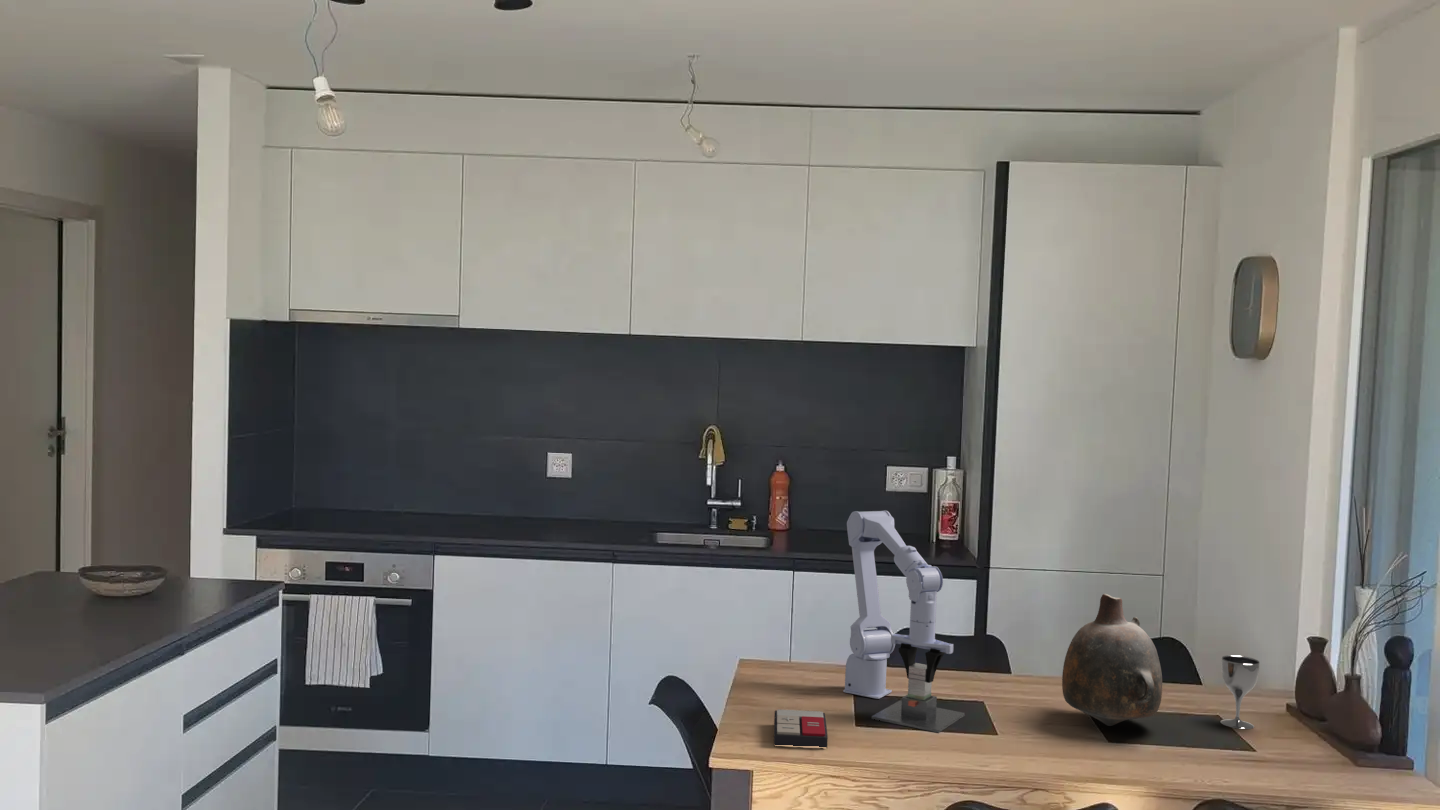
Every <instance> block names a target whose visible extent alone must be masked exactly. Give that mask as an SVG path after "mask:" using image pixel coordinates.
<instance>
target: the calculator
mask: <svg viewBox="0 0 1440 810" xmlns="http://www.w3.org/2000/svg"><path fill="white" fill-rule="evenodd" d="M773 720H774V721H773V730H774V731H773V732H774V733H773V738H774V739H773V741H774V742H773V745H774V744H775V745H793V746H819V747H827V748H828V741H829V739H828V738H829V737H828V729H827V720H826V714H825V712H823V711H819V710H818V711H817V710H800V709H799V710H796V709H776V710H775V711H774V718H773Z"/></svg>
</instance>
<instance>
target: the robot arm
mask: <svg viewBox="0 0 1440 810" xmlns="http://www.w3.org/2000/svg"><path fill="white" fill-rule="evenodd" d="M846 529H847V537H848V538H847V540H848V545H849V546H850V547H851V552H852V560H853V570H854V579H855V585H856V597H857V604H858V614H859V615H858V616H859V617H858V618H857V619H856V620H855V621H854V622H853V623H852V624H851V626H850V637H849V645H850V646H849V647H850V650H851V652H852V653H851V654H849V656H848V657H847V659H846V663H845V671H844V672H845V673H844V676H845V677H844V689H843V693H847V694H852V695H856V696H861V697H866V698H872V699H876V700H878V699H879V700H880V699H881V698H883V697H885V696H887V695H889V694H890V693H892V690H893V689H888V688H886V684H887V683H886V682H887V662H888V661H887V660H888V659H889V658H890V654H892V653H893V651H894V650H895V646H896V644H897V645H900V646H899V647H898V653H899V654H900V657H901V659H902V661H903V664H904V668H905V672H906V678H907V679H908V680H909V678H908V677H909V666H911V665H913V664H915V663H916V655H917V651H918V648H919V649H924V650H928V651H926V652H925V653H924V654H925V660H926V665H927V677H926V680H927V682H928V683H930V682H932V683H933V682H934V679H935V675H936V672H937V669H938V667H939V665H940V662H941V661H942V658H943V656H944V655H945V654H948V655H951V654H953V653H954V643H950V642H949V643H948V642H946V641H942V640H940V639H939V640H938V639H936V620H937V598H938V596H937V595H938V592H940V591H941V590H942V588H943V585H944V579H943V578H944V577H943V573H942V572H941V570H940V569H939V567H938V566H935V565H933V566H932V565H931V564H928V563H927V562H926V561H925V559H924V558H923V557H922V555H921V554H920V553H919V552H918V551H917V548H916V547H915V546H912V545H906V543H905V542H904V540H903V538H902V536H901V535H900V534H899V532H898V530H896V527H895V518H894V517H893V516H892V515H891V513H890V512H889V511H888V510H886V509H885V510H872V511H871V510H870V511H858V510H855V511H852V512H851V513H850V515H849V517H848V519H847V521H846ZM882 543H883V544H884V545H885V546H886V548H887V549H888V550H889V551H890V552H891V553H892V554H893V555H894V556H893V561H894V563H895V565H896V567H898V568H897V569H899V570H900V571H901V573H902V574H903V576H904V577H905V579H906V580H905V581H906V587H907V589H908V598H909V600H910V613H909V614H910V616H909V634H899V633H893V629H892V623H891V622H890V621H889V620H888V619H887V618H886V617H884V616H883V615H882V611H881V609H882V608H881V602H880V594H879V586H878V585H879V584H878V576H877V568H876V562H875V561H876V559H875V550H876V548H877V547H878V546H879V545H881V544H882ZM869 628H875V629H869Z"/></svg>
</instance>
